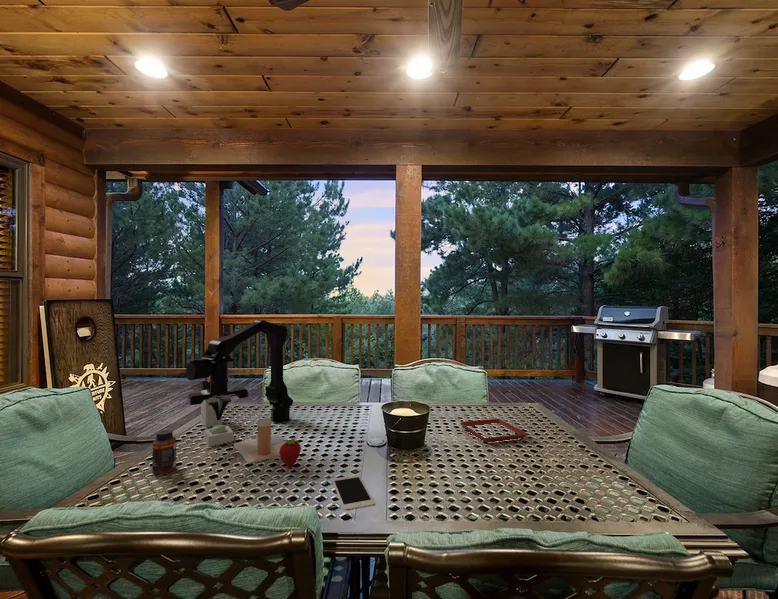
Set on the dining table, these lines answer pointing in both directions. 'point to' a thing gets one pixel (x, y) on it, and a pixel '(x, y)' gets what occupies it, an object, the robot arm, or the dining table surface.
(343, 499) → the cell phone
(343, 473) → the dining table surface
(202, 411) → the small box
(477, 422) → the red square frame
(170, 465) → the supplement bottle
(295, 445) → the decorative fruit
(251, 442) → the sheet
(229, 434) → the button housing
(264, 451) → the capped orange bottle
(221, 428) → the button
